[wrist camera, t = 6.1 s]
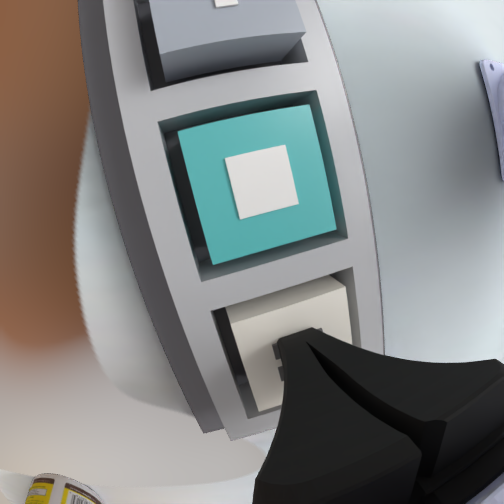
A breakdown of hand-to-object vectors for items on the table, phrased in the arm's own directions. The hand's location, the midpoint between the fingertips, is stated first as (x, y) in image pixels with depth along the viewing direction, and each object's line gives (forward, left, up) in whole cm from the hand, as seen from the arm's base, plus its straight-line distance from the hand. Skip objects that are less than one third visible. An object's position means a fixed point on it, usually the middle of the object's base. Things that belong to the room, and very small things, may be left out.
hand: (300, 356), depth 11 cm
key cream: (0, 0, -3) cm, 3 cm away
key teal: (0, -6, -3) cm, 7 cm away
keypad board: (0, -9, -3) cm, 10 cm away
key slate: (0, -12, -1) cm, 12 cm away
